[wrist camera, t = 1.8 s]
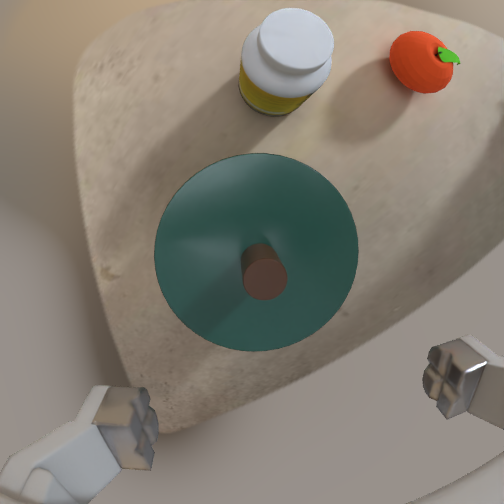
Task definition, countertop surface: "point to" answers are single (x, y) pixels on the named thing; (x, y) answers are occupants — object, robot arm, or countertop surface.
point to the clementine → (422, 62)
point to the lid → (256, 252)
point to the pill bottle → (285, 61)
